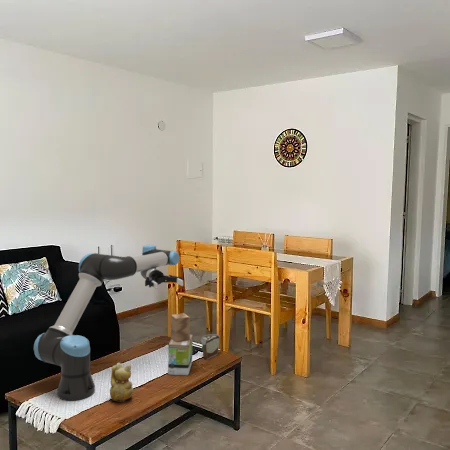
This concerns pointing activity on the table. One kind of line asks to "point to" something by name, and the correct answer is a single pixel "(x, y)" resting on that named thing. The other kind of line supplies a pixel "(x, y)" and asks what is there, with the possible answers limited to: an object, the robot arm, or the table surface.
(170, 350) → the tea box
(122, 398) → the decorative figurine
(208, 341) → the food container
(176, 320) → the walnut block
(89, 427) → the table surface
